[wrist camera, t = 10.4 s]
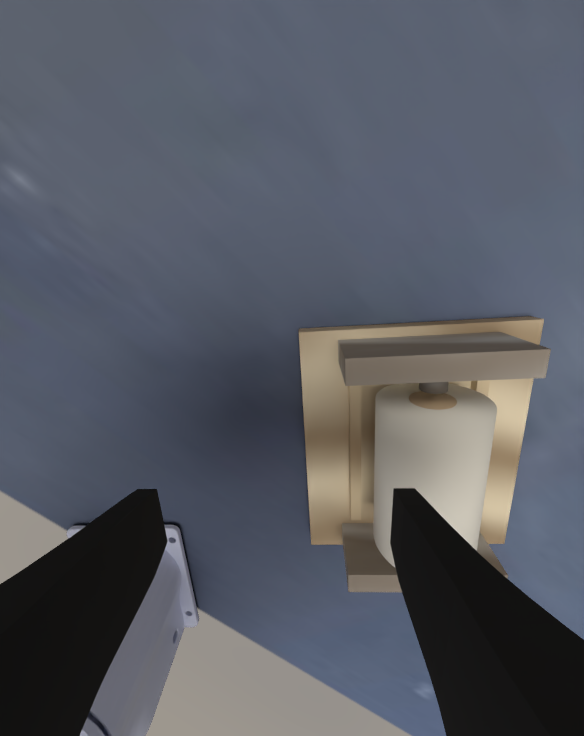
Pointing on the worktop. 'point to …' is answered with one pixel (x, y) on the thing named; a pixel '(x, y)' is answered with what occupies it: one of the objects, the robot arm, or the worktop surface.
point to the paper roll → (432, 455)
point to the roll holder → (357, 419)
